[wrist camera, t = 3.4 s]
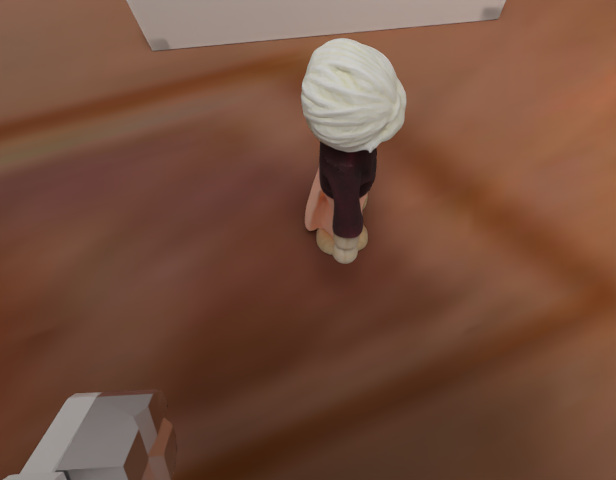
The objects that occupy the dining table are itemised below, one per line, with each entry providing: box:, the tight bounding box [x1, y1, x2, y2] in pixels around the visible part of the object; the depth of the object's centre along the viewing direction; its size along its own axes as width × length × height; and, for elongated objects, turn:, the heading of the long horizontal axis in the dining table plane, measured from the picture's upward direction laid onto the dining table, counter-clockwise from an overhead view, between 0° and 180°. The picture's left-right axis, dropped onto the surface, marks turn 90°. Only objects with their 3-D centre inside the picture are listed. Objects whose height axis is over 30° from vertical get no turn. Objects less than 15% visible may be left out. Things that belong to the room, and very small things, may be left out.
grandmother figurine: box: [301, 38, 406, 264], centre depth 19 cm, size 8×4×13 cm, turn 6°
